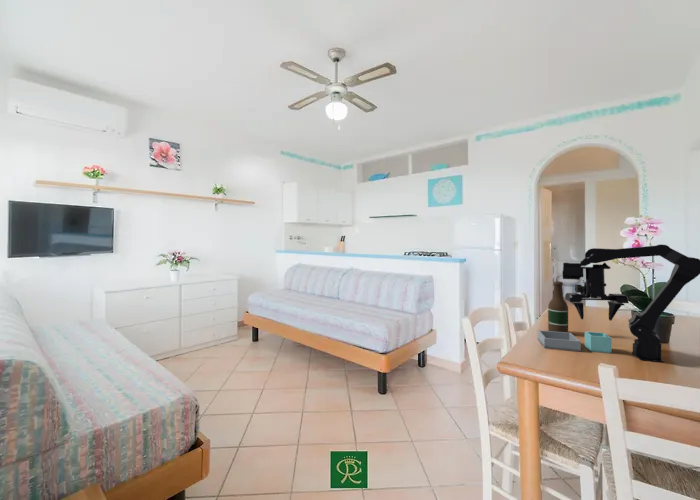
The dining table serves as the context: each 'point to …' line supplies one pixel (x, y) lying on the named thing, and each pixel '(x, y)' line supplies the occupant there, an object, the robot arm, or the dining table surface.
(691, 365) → the dining table surface
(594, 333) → the small crate
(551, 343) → the big crate
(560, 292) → the beer bottle
